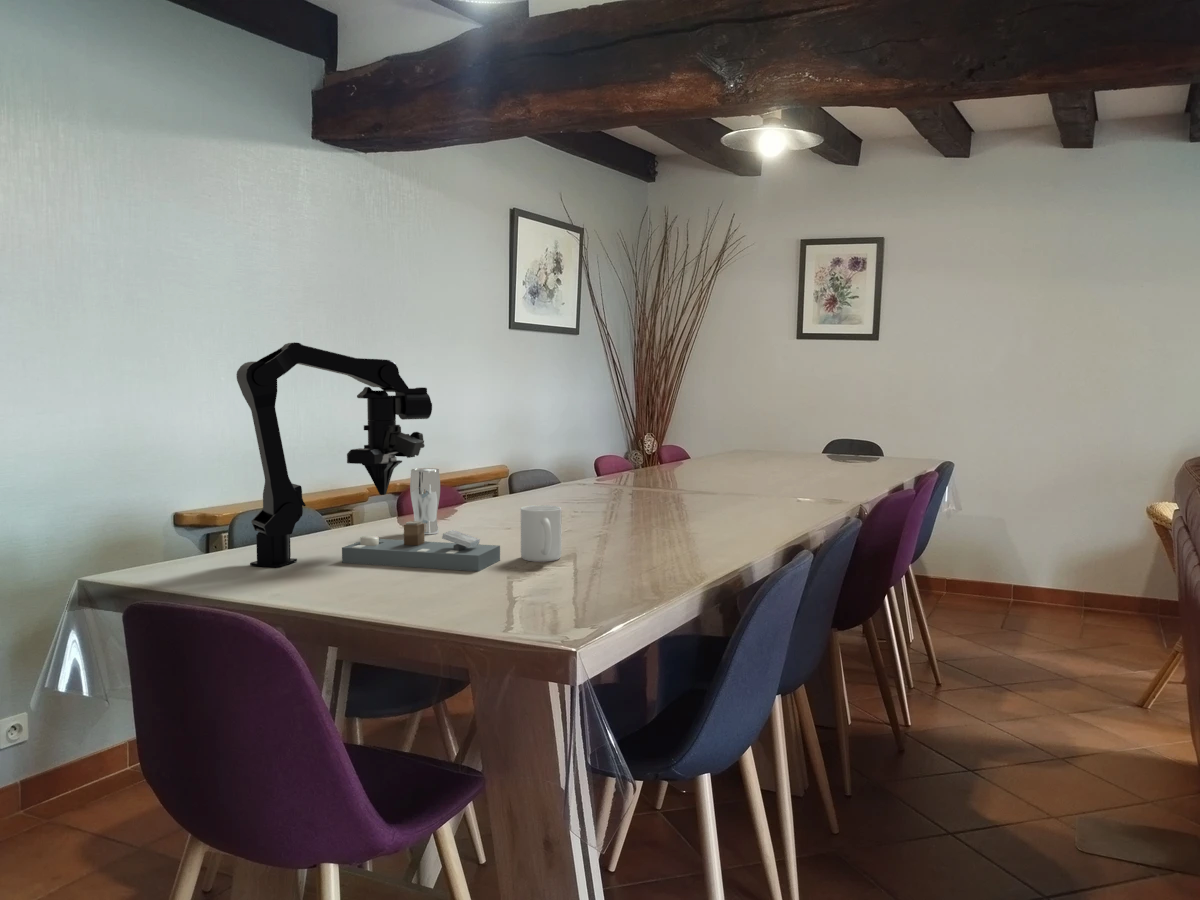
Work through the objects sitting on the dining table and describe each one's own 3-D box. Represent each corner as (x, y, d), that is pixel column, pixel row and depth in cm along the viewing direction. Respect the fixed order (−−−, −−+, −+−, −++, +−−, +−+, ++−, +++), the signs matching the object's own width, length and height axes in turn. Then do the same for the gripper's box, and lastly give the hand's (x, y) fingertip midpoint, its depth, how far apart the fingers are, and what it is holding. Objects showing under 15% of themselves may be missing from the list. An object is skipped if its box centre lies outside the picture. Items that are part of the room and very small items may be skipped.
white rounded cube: (373, 558, 184) (373, 539, 183) (357, 557, 185) (356, 538, 184) (382, 554, 187) (381, 536, 187) (366, 553, 188) (366, 535, 188)
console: (478, 571, 174) (478, 549, 173) (342, 562, 181) (341, 542, 181) (500, 560, 184) (500, 540, 184) (370, 552, 192) (369, 533, 192)
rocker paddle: (469, 547, 177) (470, 543, 177) (441, 538, 179) (442, 533, 179) (478, 543, 182) (479, 539, 182) (451, 534, 183) (452, 529, 183)
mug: (568, 565, 180) (568, 512, 180) (526, 566, 178) (526, 514, 178) (557, 553, 192) (557, 504, 191) (518, 555, 190) (517, 505, 189)
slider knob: (417, 545, 183) (417, 523, 183) (404, 544, 184) (403, 522, 184) (424, 542, 186) (424, 521, 186) (411, 542, 187) (410, 520, 187)
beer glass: (437, 535, 213) (436, 471, 212) (407, 535, 214) (406, 470, 212) (443, 530, 220) (442, 468, 219) (414, 530, 221) (413, 468, 219)
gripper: (395, 422, 180) (396, 501, 181) (436, 419, 198) (437, 490, 199) (344, 422, 183) (346, 499, 184) (390, 418, 201) (391, 489, 202)
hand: (382, 494), depth 192 cm, fingers closed
